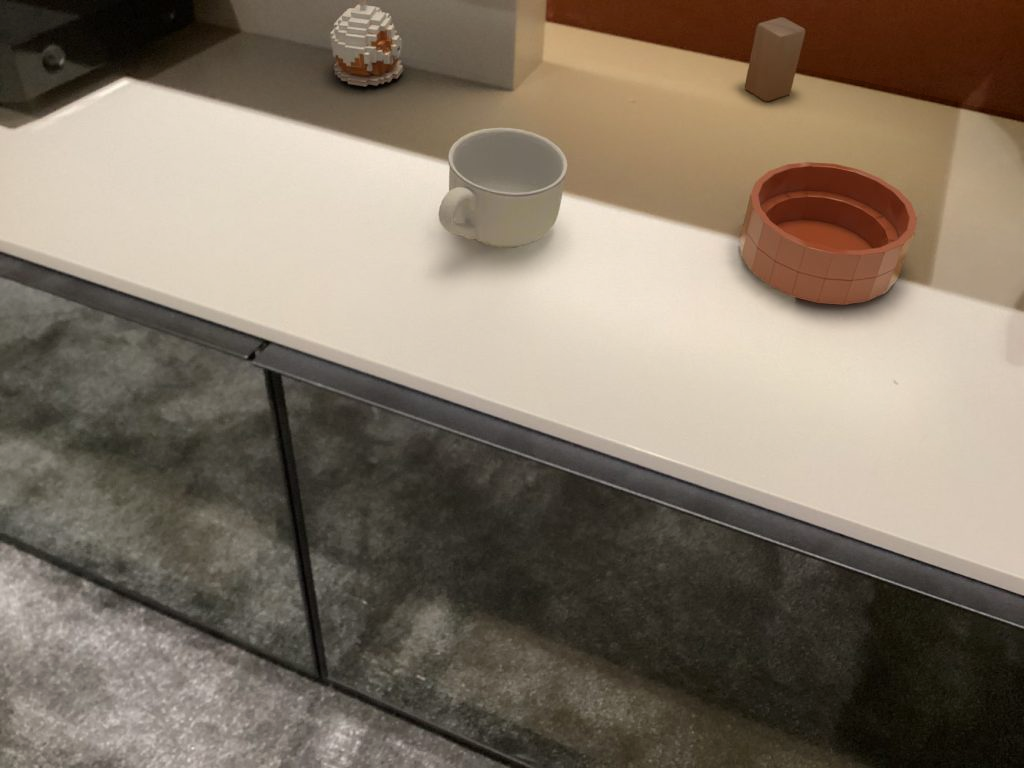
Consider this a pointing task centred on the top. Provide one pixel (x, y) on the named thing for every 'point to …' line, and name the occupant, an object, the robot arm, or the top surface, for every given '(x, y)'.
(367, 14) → the decorative ornament
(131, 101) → the top surface
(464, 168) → the teacup
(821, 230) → the bowl
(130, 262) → the top surface
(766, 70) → the wooden block
